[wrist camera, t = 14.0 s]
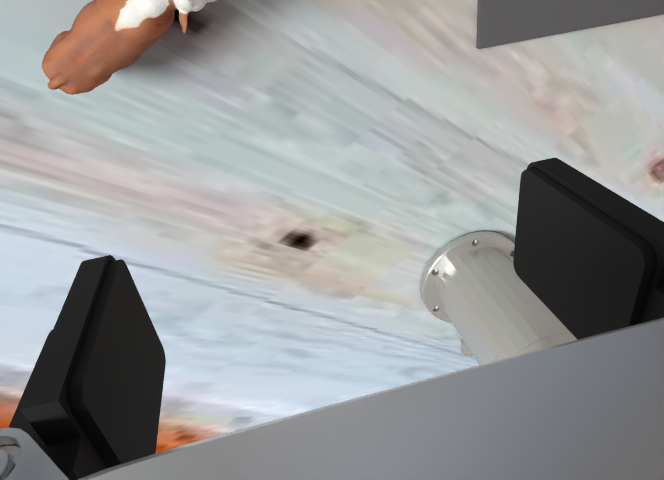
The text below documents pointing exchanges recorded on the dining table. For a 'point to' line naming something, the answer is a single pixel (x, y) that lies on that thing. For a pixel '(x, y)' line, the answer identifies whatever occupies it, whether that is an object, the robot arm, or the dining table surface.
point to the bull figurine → (109, 40)
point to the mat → (553, 17)
